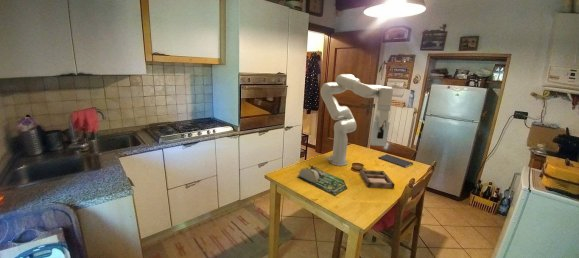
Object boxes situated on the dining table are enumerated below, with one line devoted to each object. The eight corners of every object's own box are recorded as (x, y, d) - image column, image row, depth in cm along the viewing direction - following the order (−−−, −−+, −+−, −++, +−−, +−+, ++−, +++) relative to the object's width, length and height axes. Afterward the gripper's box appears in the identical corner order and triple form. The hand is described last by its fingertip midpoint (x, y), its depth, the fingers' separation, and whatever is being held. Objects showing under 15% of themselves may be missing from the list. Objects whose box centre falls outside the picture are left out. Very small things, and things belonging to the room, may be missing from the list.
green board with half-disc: (292, 164, 149) (313, 157, 163) (291, 176, 151) (312, 167, 165) (335, 184, 127) (355, 173, 141) (334, 197, 129) (354, 185, 143)
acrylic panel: (371, 145, 145) (374, 121, 141) (369, 143, 148) (373, 120, 144) (386, 146, 145) (389, 121, 141) (384, 144, 148) (387, 120, 144)
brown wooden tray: (367, 188, 139) (368, 182, 138) (359, 174, 156) (360, 169, 155) (393, 189, 139) (394, 184, 138) (382, 175, 156) (383, 170, 155)
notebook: (378, 159, 186) (405, 168, 171) (378, 157, 186) (405, 166, 170) (386, 155, 194) (413, 164, 178) (387, 154, 194) (413, 162, 178)
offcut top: (371, 185, 141) (371, 183, 140) (367, 180, 147) (367, 178, 147) (388, 186, 141) (388, 184, 140) (383, 181, 147) (384, 178, 147)
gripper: (372, 105, 149) (368, 133, 153) (381, 110, 133) (377, 141, 138) (384, 105, 149) (380, 134, 153) (395, 110, 133) (390, 142, 138)
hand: (379, 137), depth 145 cm, fingers closed on acrylic panel, 3 cm apart
